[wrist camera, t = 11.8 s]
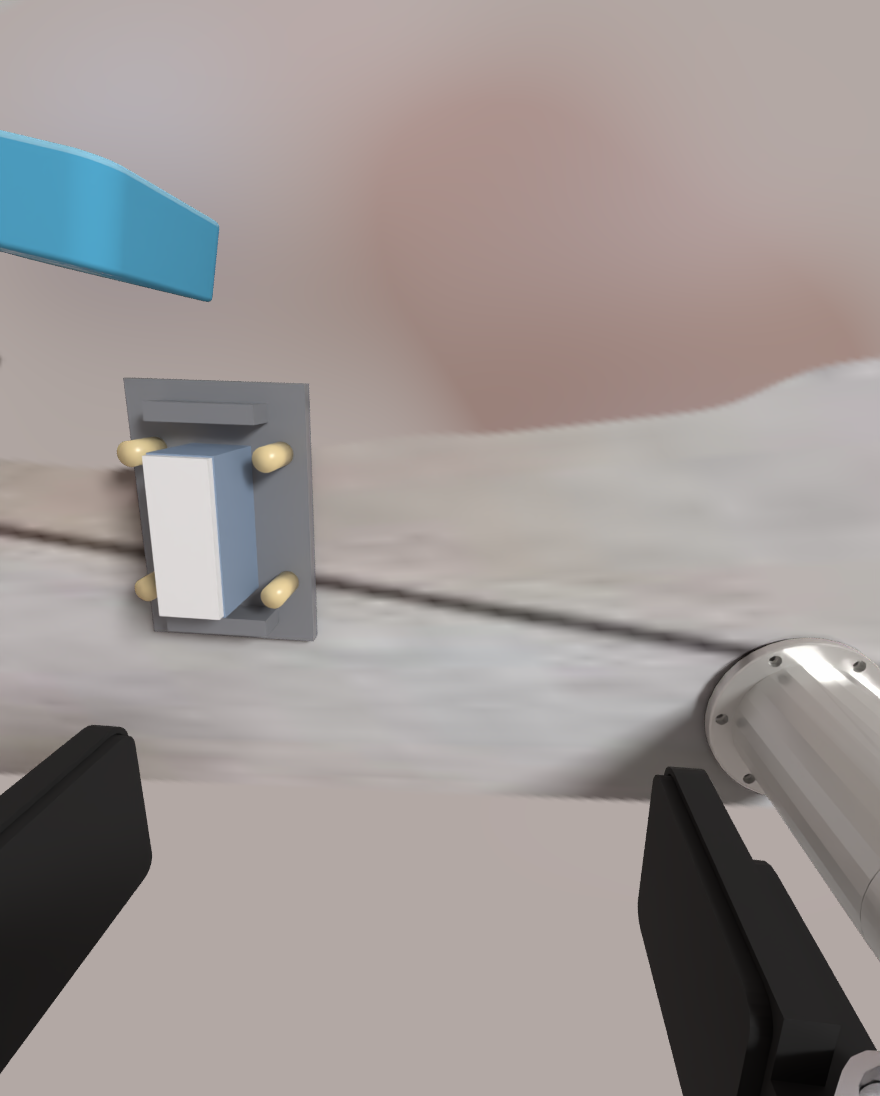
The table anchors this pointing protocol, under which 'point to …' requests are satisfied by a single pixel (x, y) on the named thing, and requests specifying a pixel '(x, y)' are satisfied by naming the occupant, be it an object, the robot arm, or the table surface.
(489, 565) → the table surface
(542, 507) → the table surface
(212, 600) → the block
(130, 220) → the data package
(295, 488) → the tray
